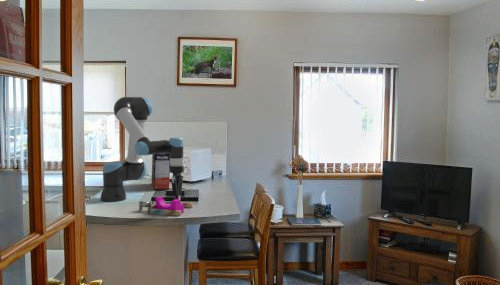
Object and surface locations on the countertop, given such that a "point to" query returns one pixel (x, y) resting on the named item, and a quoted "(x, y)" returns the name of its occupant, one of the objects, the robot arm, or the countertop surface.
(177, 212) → the rack bay
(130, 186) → the countertop surface
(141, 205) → the winch drum
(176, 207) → the toy block
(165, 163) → the cereal box
